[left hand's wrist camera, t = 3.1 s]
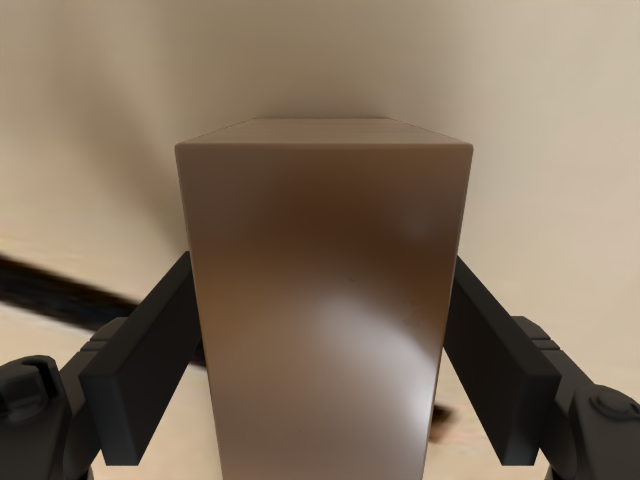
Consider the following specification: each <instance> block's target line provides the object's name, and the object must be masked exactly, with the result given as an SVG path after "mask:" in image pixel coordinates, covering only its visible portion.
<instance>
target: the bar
mask: <svg viewBox="0 0 640 480" xmlns="http://www.w3.org/2000/svg"><path fill="white" fill-rule="evenodd" d="M175 155H176V162H177V169H178V176H179V183H180V189H181V196H182V203H183V210H184V217H185V223H186V230H187V237H188V244H189V251H190V257H191V264H192V271H193V278H194V285H195V291H196V298H197V305H198V312H199V319H200V326H201V332H202V339H203V346H204V353H205V360H206V366H207V373H208V380H209V387H210V394H211V400H212V407H213V414H214V421H215V428H216V434H217V441H218V448H219V455H220V462H221V469H222V475H223V480H422V478H423V471H424V465H425V458H426V452H427V446H428V439H429V433H430V426H431V420H432V413H433V407H434V400H435V394H436V387H437V381H438V375H439V368H440V362H441V355H442V349H443V342H444V336H445V329H446V323H447V316H448V310H449V303H450V297H451V291H452V284H453V278H454V271H455V265H456V258H457V252H458V245H459V239H460V232H461V226H462V220H463V213H464V207H465V200H466V194H467V187H468V181H469V174H470V168H471V161H472V155H473V145H472V144H469V143H467V142H463V141H460V140H457V139H454V138H450V137H447V136H444V135H441V134H438V133H434V132H431V131H428V130H425V129H421V128H418V127H415V126H412V125H409V124H405V123H402V122H399V121H396V120H392V119H389V118H255V119H252V120H249V121H245V122H242V123H239V124H236V125H233V126H230V127H227V128H224V129H221V130H218V131H215V132H212V133H209V134H206V135H203V136H200V137H197V138H194V139H191V140H187V141H184V142H181V143H179V144H176V145H175Z"/></svg>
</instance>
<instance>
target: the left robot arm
mask: <svg viewBox="0 0 640 480" xmlns="http://www.w3.org/2000/svg"><path fill="white" fill-rule="evenodd" d="M201 337H202V332H201V326H200V319H199V312H198V305H197V298H196V291H195V285H194V278H193V271H192V264H191V257H190V251H186V252H185V253H184V254H183V255H182V256H181V257H180V259H179V260H178V261H177V262H176V263H175V264H174V265H173V267H172V268H171V269H170V270H169V271H168V272H167V273H166V275H165V276H164V277H163V278H162V279H161V280H160V282H159V283H158V284H157V285H156V286H155V287H154V288H153V290H152V291H151V292H150V293H149V294H148V295H147V296H146V298H145V299H144V300H143V301H142V302H141V303H140V305H139V306H138V307H137V308H136V309H135V310H134V311H133V313H132V314H131V315H130V316H129V317H117V318H115V319H114V320H112V321H111V322H109V323H107V324H106V325H104V326H102V327H101V328H100V329H99V330H98V331H97V332H96V333H95V334H94V335H93V336H92V337H91V338H90V341H89V342H87V343H86V344H85V345H84V346H83V347H82V348H81V349H80V352H77V353H76V354H75V355H74V356H73V357H72V358H71V359H70V360H69V362H68V363H67V364H66V365H65V366H64V367H63V368H62V369H61V370H60V371H58V368H57V365H56V362H55V360H54V359H53V358H51V357H50V356H44V355H34V356H27V357H23V358H20V359H17V360H14V361H11V362H8V363H6V364H4V365H2V366H0V480H94V477H93V471H92V468H91V464H92V462H93V460H94V459H95V457H96V456H97V454H98V452H99V451H100V449H101V451H102V454H103V457H104V460H105V463H106V466H138V464H139V462H140V460H141V458H142V456H143V454H144V452H145V450H146V448H147V446H148V444H149V442H150V440H151V438H152V436H153V434H154V432H155V430H156V428H157V426H158V424H159V422H160V420H161V418H162V416H163V414H164V412H165V410H166V408H167V406H168V404H169V402H170V400H171V398H172V396H173V394H174V392H175V390H176V388H177V386H178V384H179V381H180V379H181V377H182V375H183V373H184V371H185V369H186V367H187V365H188V363H189V361H190V359H191V357H192V355H193V353H194V351H195V349H196V347H197V345H198V343H199V341H200V339H201ZM443 347H444V349H445V351H446V353H447V355H448V357H449V359H450V361H451V363H452V365H453V367H454V369H455V371H456V373H457V375H458V377H459V379H460V381H461V384H462V386H463V388H464V390H465V392H466V394H467V396H468V398H469V400H470V402H471V404H472V406H473V408H474V410H475V412H476V414H477V416H478V418H479V420H480V422H481V424H482V426H483V428H484V430H485V432H486V434H487V436H488V438H489V440H490V442H491V444H492V446H493V448H494V450H495V452H496V454H497V456H498V458H499V460H500V462H501V464H502V466H534V463H535V460H536V457H537V454H538V451H539V448H540V449H541V450H542V452H543V454H544V455H545V457H546V458H547V460H548V462H549V463H550V465H549V468H548V471H547V474H546V477H545V479H544V480H640V405H639V404H638V403H637V402H636V401H635V400H633V399H632V398H630V397H628V396H627V395H625V394H623V393H621V392H619V391H617V390H614V389H612V388H609V387H606V386H602V385H596V384H594V383H593V382H592V381H591V380H590V379H589V378H588V376H587V375H586V374H585V373H584V372H583V371H582V370H581V369H580V368H579V367H578V366H577V365H576V364H575V363H574V362H573V361H572V360H571V359H570V358H569V357H568V356H567V355H566V353H565V352H564V351H563V350H560V347H559V346H558V345H557V344H556V343H555V342H554V341H553V340H551V338H550V337H549V336H548V335H547V334H546V333H545V332H544V331H543V329H542V328H541V327H540V326H538V325H537V324H535V323H533V322H532V321H530V320H528V319H527V318H525V317H524V316H510V315H509V314H508V313H507V311H506V310H505V309H504V308H503V307H502V306H501V305H500V303H499V302H498V301H497V300H496V299H495V298H494V296H493V295H492V294H491V293H490V292H489V291H488V290H487V288H486V287H485V286H484V285H483V284H482V283H481V282H480V280H479V279H478V278H477V277H476V276H475V275H474V273H473V272H472V271H471V270H470V269H469V268H468V267H467V265H466V264H465V263H464V262H463V261H462V260H461V259H460V257H459V256H458V255H457V258H456V265H455V271H454V278H453V284H452V291H451V297H450V303H449V310H448V316H447V323H446V329H445V336H444V342H443Z"/></svg>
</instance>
